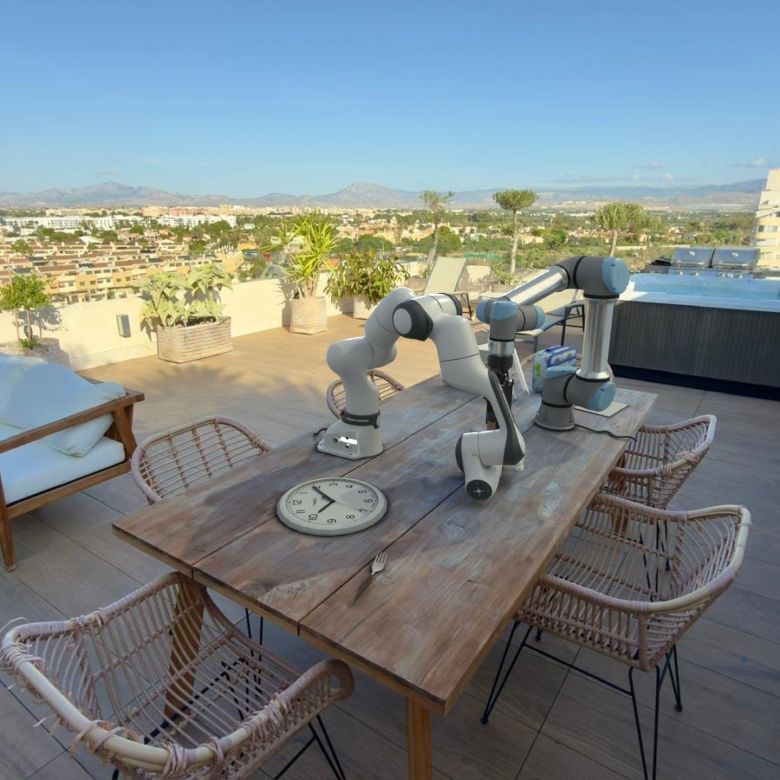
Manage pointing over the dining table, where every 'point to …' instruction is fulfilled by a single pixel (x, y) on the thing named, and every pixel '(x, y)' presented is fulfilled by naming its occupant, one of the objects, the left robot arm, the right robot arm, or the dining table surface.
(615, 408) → the invitation card
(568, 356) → the lunch box
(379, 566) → the fork
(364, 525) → the wall clock
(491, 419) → the lid
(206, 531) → the dining table surface
